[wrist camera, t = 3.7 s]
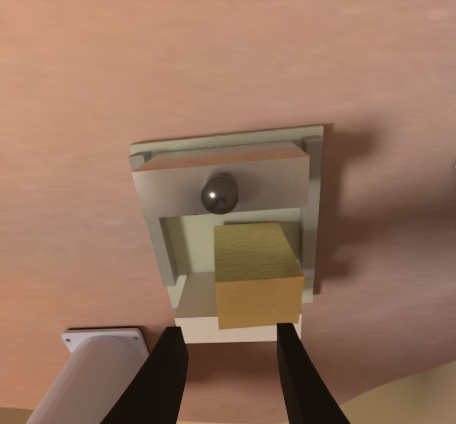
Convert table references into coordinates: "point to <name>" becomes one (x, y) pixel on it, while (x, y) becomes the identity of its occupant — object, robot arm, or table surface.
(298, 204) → the block
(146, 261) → the table surface
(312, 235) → the vise
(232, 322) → the block
